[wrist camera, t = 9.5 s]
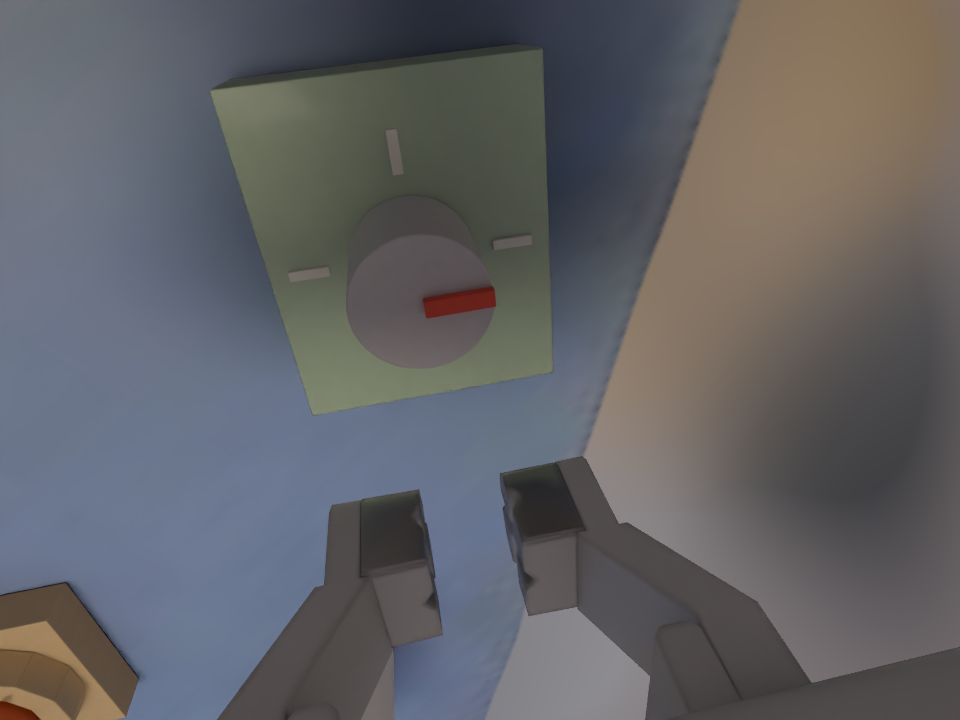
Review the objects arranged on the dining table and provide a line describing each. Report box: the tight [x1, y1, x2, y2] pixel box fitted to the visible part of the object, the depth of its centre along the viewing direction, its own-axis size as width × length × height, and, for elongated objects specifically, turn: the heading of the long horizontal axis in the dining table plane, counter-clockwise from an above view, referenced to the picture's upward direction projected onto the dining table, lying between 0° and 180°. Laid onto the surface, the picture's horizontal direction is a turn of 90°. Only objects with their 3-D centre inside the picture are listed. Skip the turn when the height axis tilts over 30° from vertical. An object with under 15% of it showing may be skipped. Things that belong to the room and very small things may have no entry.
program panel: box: [210, 44, 553, 415], centre depth 22 cm, size 12×10×3 cm
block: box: [0, 583, 138, 720], centre depth 29 cm, size 9×8×4 cm
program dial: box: [346, 195, 496, 369], centre depth 18 cm, size 4×4×4 cm
